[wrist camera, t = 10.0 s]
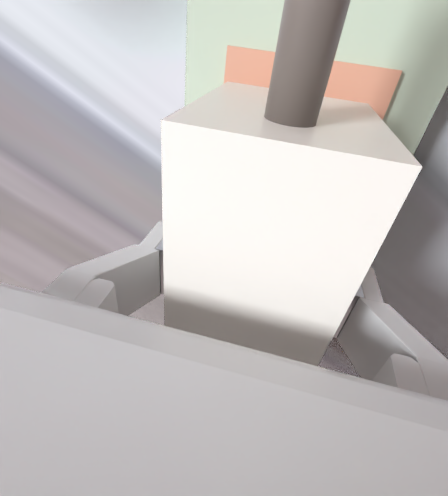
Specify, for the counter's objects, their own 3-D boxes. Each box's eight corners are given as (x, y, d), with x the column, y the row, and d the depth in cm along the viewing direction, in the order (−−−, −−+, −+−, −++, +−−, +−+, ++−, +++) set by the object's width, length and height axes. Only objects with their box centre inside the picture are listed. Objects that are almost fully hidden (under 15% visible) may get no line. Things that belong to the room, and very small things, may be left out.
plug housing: (463, -158, 6) (834, -623, 2) (285, 331, 14) (276, 446, 10) (253, -168, 6) (149, -549, 2) (204, 310, 15) (166, 412, 11)
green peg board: (473, -24, 9) (625, -79, 4) (314, 326, 18) (315, 415, 14) (209, -52, 10) (128, -118, 5) (190, 294, 19) (155, 368, 15)
